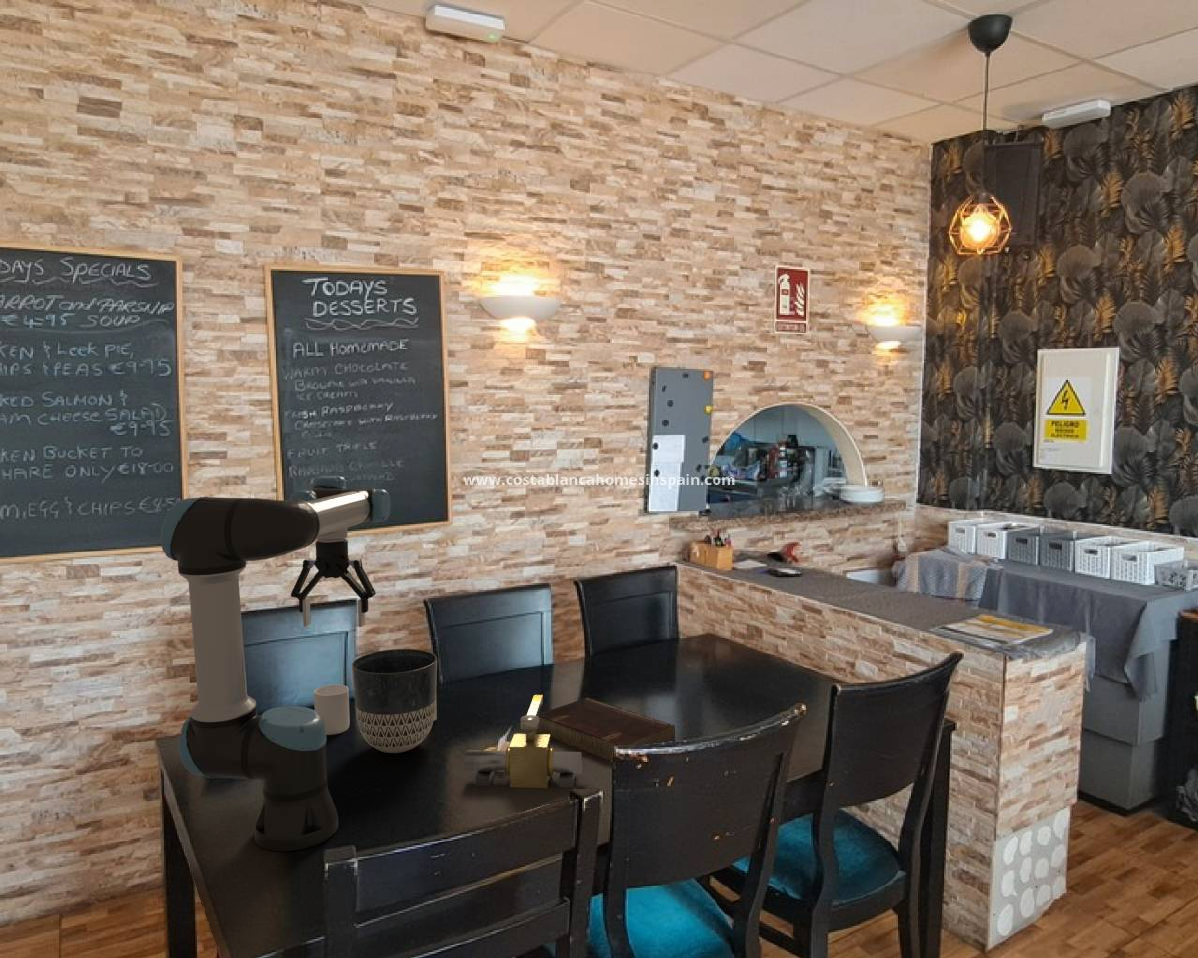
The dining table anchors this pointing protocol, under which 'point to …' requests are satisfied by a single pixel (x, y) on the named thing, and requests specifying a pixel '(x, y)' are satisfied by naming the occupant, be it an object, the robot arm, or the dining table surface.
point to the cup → (333, 707)
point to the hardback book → (602, 727)
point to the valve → (525, 762)
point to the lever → (532, 714)
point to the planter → (395, 697)
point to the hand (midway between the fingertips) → (334, 625)
